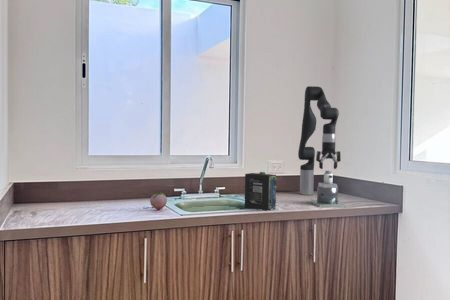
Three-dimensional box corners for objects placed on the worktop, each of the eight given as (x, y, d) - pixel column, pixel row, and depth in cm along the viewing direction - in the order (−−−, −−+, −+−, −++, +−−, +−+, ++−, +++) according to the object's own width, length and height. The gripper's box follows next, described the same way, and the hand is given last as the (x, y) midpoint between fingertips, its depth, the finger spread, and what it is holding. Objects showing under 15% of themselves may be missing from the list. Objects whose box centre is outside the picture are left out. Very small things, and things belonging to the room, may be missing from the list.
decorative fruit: (156, 208, 208) (156, 189, 207) (169, 209, 204) (169, 190, 204) (146, 211, 199) (146, 192, 199) (159, 212, 196) (160, 193, 195)
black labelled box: (270, 211, 203) (271, 173, 202) (242, 207, 214) (243, 171, 213) (277, 209, 210) (278, 172, 209) (250, 205, 221) (250, 170, 220)
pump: (322, 186, 228) (322, 170, 227) (330, 186, 228) (330, 170, 228) (326, 187, 221) (327, 171, 221) (334, 187, 222) (335, 171, 222)
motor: (309, 202, 233) (309, 182, 232) (334, 202, 235) (334, 181, 235) (319, 207, 217) (320, 185, 217) (346, 206, 219) (346, 185, 219)
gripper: (337, 141, 229) (336, 168, 230) (314, 141, 227) (314, 168, 228) (343, 141, 222) (342, 169, 223) (319, 141, 220) (319, 169, 220)
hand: (328, 168), depth 225 cm, fingers open, 8 cm apart
